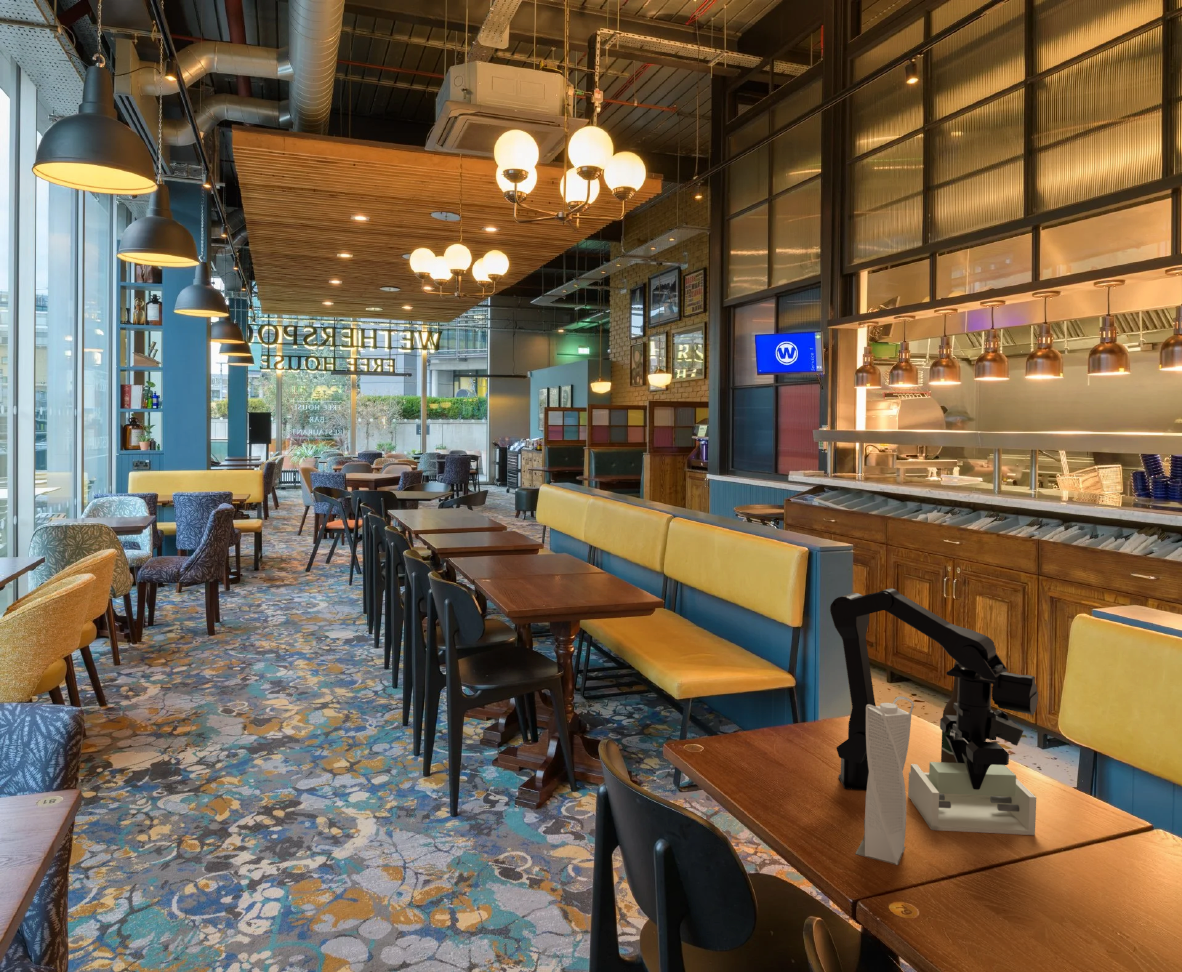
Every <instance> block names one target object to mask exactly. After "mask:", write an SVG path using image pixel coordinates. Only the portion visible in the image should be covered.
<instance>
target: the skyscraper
mask: <svg viewBox="0 0 1182 972" xmlns="http://www.w3.org/2000/svg"><path fill="white" fill-rule="evenodd" d="M900 700H904V701H907V702H910V704H911V706H910V709H909V712H908V711H906V710H903V709H901V708H899V707H898V704H896V703H897V701H900ZM914 706H915V703H914V701H913V700H912V699H911V698H908V697H907V696H904V695H903V696H902V695H899V696H897V697H895V699H894V700H893V702H892V703H891V702H881V703H879V705H876V706H873V705H870V704H867V706H866V748H867V760H868V768H869V775H868V782H867V790H866V792H865V801H864V802H865V810H864V813H865V814H864V819H863V826H864V827H863V829H864V833H863V839H862V840H861V842H860V845H859V846H858V848H857V850H856V851H855V855H856V856H862V857H864V858H868V859H871V860H872V859H873V860H875V861H881V862H884V863H888V864H891V865H895V866H898V865H900V862H901V859H902V858H903V855H904V852H905V849H906V846H905V841H906V829H907V795H906V794H907V793H906V784H905V778H904V777H905V776H904V768H905V764H906V762H907V756H908V751H909V750H908V749H909V744H910V736H911V725H912V714H913V710H914V708H915V707H914Z"/></svg>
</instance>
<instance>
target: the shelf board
mask: <svg viewBox="0 0 1182 972" xmlns="http://www.w3.org/2000/svg"><path fill="white" fill-rule="evenodd" d="M928 773H929V780H930V782H931V783H932V784H933V786H934V787H935V788H936V789H937V791H938V792H939V793H945V794H968V795H992V796H1015V791H1016V778H1017V775H1016V774H1015V773H1014V772H1013V771H1012V770H1011V769H1010V768H1009V767H1008V766H1007V765H990V766H989V768H988V770H987V772H986V775H985V777H984V780H983V782H982V785H981V787H980V789H979V790H976V789H973V787H972V784H971V781H970V778H969V775H968V772H967V768H966V765H965V763H946V762H941V761H929V769H928Z"/></svg>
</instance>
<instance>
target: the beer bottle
mask: <svg viewBox="0 0 1182 972" xmlns="http://www.w3.org/2000/svg"><path fill="white" fill-rule="evenodd" d="M954 661H955V662H954V665H953V667H954V666H955V664H957V663H958V662H957V661H956V660H954ZM952 686H953V687H952V694H951V697H950V699H949V700H948V701H947V703H946V704H945V706H944V709H943V711H942V717H944V716H945V715H954V716H957V711H956V710H955V709H954V708H953V706H954V703H957V698H958V677H953V685H952ZM946 735H950V729H949V731H948V733H944V732H943V731H942V730H941V747H940V749H941V751H940V762H946V763H957V762H956V759H955V757H954V754H953V752H952V750H951V747H950V745H949V742H948V740H947V739H946Z"/></svg>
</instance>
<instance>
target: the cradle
mask: <svg viewBox="0 0 1182 972" xmlns="http://www.w3.org/2000/svg"><path fill="white" fill-rule="evenodd" d="M907 796H908V798H909V800H910V799H911V800H910V801H911V802H912V804H913V805H914V807H915V808H916V810H917V811H918V813H919V814H920V816H921V817H922V818H923V821H925V823H926V825H927V826H928V828H929V829H930V830H931V831H944V832H945V831H947V832H948V831H949V832H965V833H967V832H968V833H983V834H984V833H986V834H1006V835H1022V836H1023V835H1027V836H1036V820H1037V817H1036V816H1037V796H1035V795H1034V794H1033V793H1032V792H1031V791H1030V790H1029V789H1028V787H1026V786H1025V785H1024V784H1023V783H1022V781H1020V780H1019V779H1018V778H1017V777H1016V791H1015V796H992V795H968V794H945V793H939V792H938V791H937V789H936V788H935V787H934V786H933V784H932V783H931V782H930V780H929V772H925V771H923V770H922V769H921V768H920V766H919V765H918V763H916V764H915V763H911V764H910V771H909V772H908V795H907Z"/></svg>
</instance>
